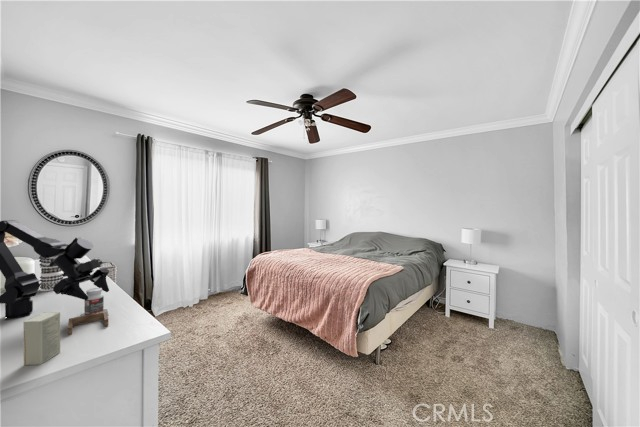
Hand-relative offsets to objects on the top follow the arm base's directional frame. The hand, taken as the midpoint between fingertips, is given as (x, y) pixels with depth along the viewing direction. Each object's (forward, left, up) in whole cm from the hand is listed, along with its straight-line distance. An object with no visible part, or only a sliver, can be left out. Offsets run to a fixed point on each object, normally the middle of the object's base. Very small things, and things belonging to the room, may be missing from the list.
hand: (98, 295), depth 102 cm
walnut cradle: (-3, -10, -8) cm, 13 cm away
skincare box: (-13, -28, -8) cm, 32 cm away
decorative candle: (-16, +58, -8) cm, 61 cm away
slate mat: (-1, +1, -8) cm, 8 cm away
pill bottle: (-1, +1, -8) cm, 8 cm away
